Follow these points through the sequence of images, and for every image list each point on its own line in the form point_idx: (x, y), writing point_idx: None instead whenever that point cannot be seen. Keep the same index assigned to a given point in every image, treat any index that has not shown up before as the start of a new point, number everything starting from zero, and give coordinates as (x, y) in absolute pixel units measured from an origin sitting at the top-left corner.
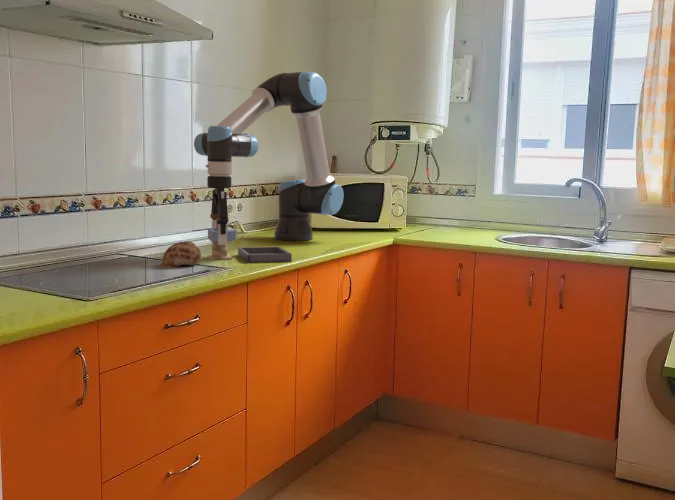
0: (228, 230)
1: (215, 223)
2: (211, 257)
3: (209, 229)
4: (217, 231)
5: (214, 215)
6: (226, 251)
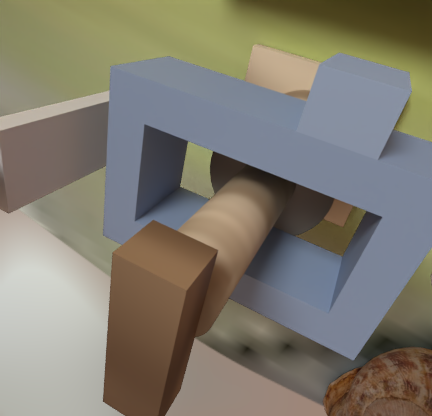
0: (341, 173)
1: (37, 170)
2: (337, 216)
3: None
4: (367, 318)
5: (167, 395)
6: None
